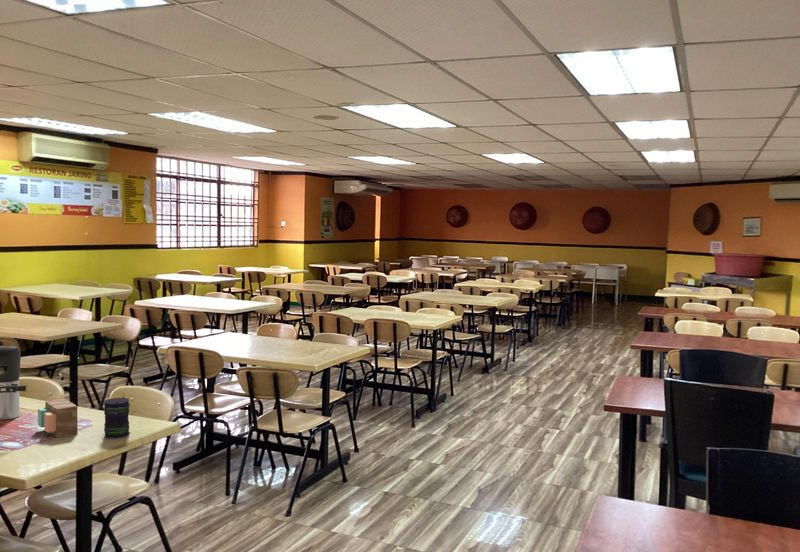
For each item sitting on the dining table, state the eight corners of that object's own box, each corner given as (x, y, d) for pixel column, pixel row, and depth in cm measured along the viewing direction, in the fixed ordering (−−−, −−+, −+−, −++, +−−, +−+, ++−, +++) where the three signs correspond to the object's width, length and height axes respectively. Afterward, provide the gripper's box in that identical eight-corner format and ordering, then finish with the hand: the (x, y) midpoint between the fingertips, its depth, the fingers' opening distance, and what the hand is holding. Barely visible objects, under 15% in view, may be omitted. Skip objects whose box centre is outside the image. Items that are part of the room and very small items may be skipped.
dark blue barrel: (104, 433, 278) (104, 398, 277) (129, 430, 282) (128, 397, 281) (104, 439, 268) (103, 404, 268) (129, 437, 272) (129, 402, 272)
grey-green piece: (37, 425, 279) (37, 408, 279) (53, 422, 283) (53, 406, 283) (41, 427, 276) (40, 410, 275) (56, 425, 280) (56, 408, 280)
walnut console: (45, 428, 283) (45, 401, 282) (65, 425, 288) (65, 398, 288) (57, 437, 270) (56, 409, 270) (77, 433, 276) (77, 406, 275)
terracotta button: (44, 430, 272) (43, 412, 272) (59, 427, 277) (59, 410, 276) (47, 432, 269) (47, 415, 268) (63, 429, 273) (63, 412, 273)
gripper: (-14, 380, 256) (29, 379, 268) (-28, 378, 264) (15, 377, 277) (-16, 399, 255) (27, 397, 268) (-29, 396, 264) (13, 394, 276)
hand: (21, 387), depth 272 cm, fingers open, 8 cm apart
